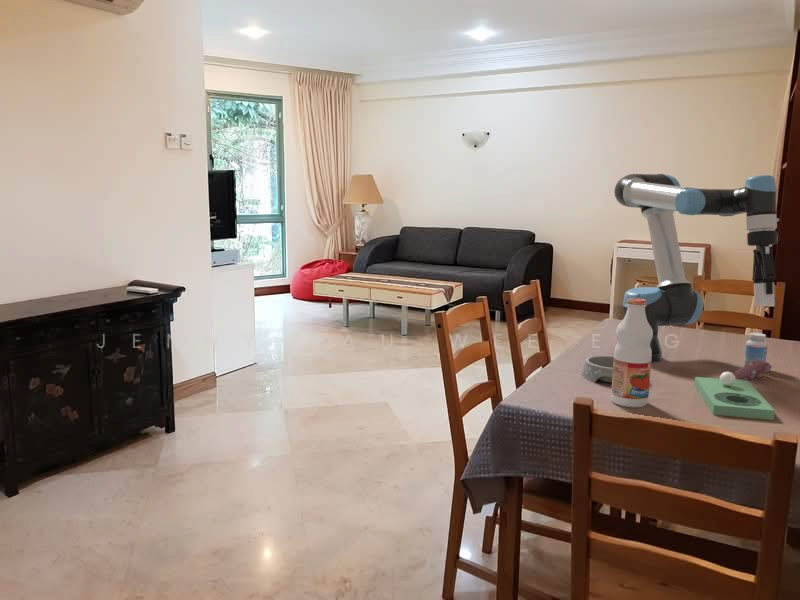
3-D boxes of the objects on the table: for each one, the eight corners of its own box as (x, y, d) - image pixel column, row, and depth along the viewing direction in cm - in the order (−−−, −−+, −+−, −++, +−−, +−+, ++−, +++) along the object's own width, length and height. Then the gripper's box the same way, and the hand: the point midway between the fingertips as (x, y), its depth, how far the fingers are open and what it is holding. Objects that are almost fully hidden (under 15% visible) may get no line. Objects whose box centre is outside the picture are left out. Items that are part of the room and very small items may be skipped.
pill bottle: (767, 371, 207) (771, 337, 205) (746, 370, 208) (750, 335, 206) (761, 366, 213) (765, 332, 211) (740, 365, 214) (744, 331, 212)
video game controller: (742, 385, 198) (754, 368, 194) (732, 375, 201) (743, 357, 197) (765, 381, 202) (777, 364, 198) (754, 371, 205) (765, 354, 201)
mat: (694, 385, 192) (695, 376, 191) (746, 389, 189) (747, 380, 188) (713, 414, 167) (714, 405, 167) (774, 420, 164) (775, 410, 163)
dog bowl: (587, 367, 210) (589, 351, 209) (648, 376, 202) (649, 359, 201) (574, 381, 195) (575, 363, 194) (639, 391, 187) (641, 372, 186)
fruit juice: (620, 394, 182) (628, 295, 177) (653, 402, 176) (662, 299, 171) (604, 402, 176) (611, 299, 171) (637, 410, 169) (646, 303, 164)
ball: (720, 387, 182) (722, 373, 181) (717, 383, 186) (718, 369, 185) (736, 388, 181) (737, 374, 180) (732, 384, 185) (734, 370, 184)
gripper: (786, 225, 173) (789, 306, 173) (768, 233, 196) (770, 304, 196) (754, 227, 175) (757, 307, 175) (740, 235, 199) (742, 305, 199)
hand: (764, 306), depth 186 cm, fingers open, 13 cm apart
